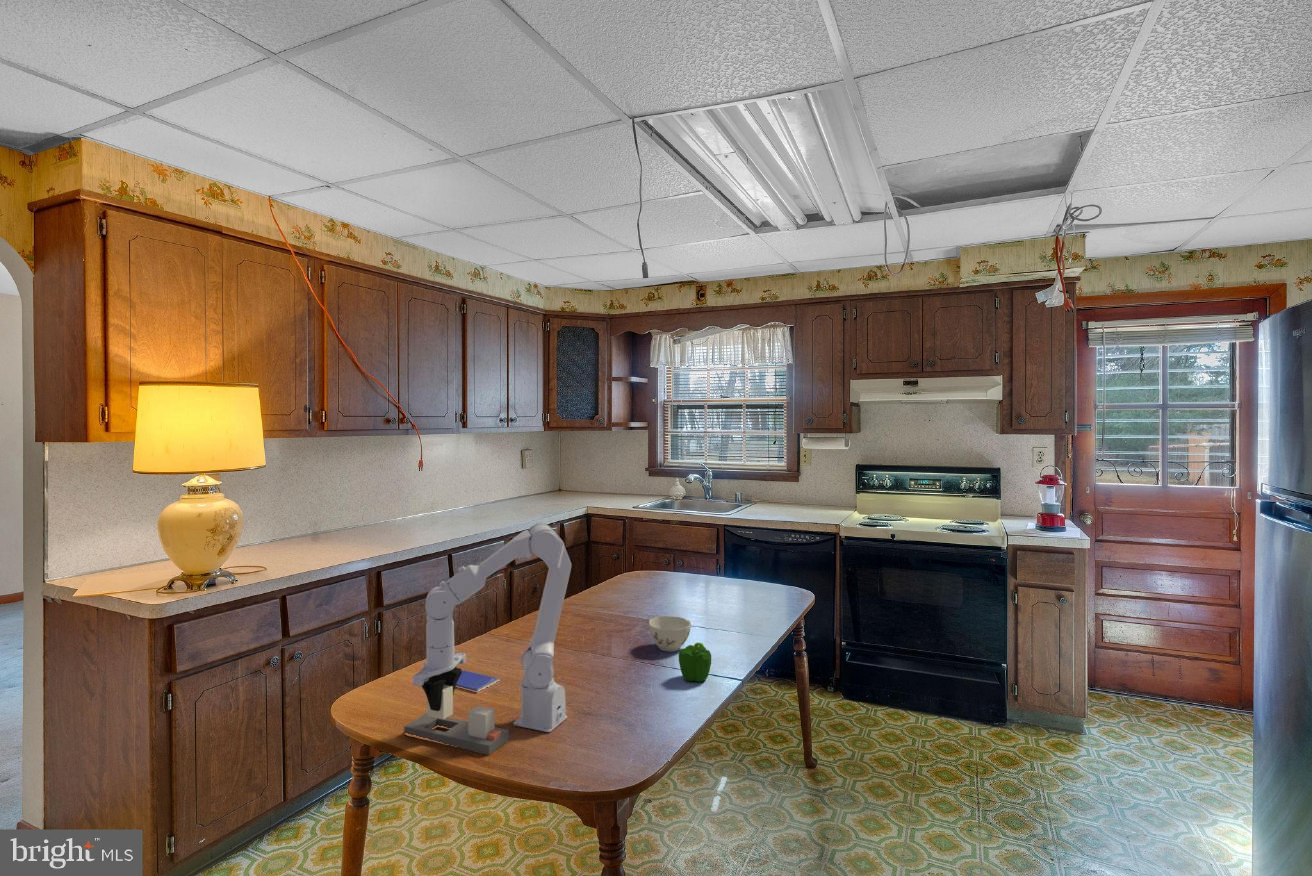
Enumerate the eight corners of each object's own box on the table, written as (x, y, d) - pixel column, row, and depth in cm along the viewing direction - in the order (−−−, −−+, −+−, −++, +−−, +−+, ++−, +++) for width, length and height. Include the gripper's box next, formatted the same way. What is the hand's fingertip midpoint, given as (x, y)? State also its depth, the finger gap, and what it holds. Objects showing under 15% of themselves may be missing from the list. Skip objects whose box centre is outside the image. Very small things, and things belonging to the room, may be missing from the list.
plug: (453, 713, 143) (452, 686, 143) (443, 719, 140) (443, 691, 140) (436, 710, 145) (436, 683, 144) (427, 715, 142) (426, 688, 142)
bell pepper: (674, 675, 175) (674, 638, 174) (702, 671, 178) (702, 634, 177) (686, 687, 167) (686, 648, 167) (716, 682, 170) (716, 644, 170)
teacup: (676, 659, 186) (676, 631, 186) (640, 650, 193) (640, 623, 193) (702, 644, 199) (702, 617, 199) (668, 636, 206) (668, 611, 206)
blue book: (499, 677, 171) (464, 669, 177) (477, 689, 164) (441, 680, 170) (499, 683, 171) (464, 675, 177) (477, 695, 164) (441, 686, 170)
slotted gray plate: (509, 739, 140) (509, 707, 140) (489, 755, 134) (488, 721, 133) (427, 721, 148) (426, 691, 148) (404, 735, 142) (403, 703, 142)
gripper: (447, 631, 150) (448, 690, 151) (401, 652, 137) (401, 717, 137) (473, 635, 147) (473, 695, 148) (428, 657, 134) (428, 723, 134)
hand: (441, 706), depth 142 cm, fingers closed on plug, 3 cm apart
